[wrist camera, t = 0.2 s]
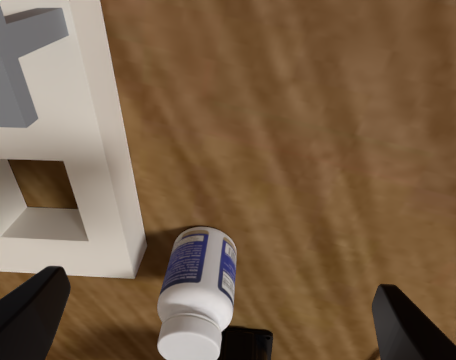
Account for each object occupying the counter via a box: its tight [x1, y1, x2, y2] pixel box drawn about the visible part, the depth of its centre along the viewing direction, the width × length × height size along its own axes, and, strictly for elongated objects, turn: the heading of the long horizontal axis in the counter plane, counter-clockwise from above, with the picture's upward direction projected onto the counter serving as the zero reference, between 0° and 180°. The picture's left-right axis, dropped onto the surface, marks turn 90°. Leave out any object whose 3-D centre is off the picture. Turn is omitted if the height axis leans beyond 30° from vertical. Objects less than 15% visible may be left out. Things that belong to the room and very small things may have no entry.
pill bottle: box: [157, 227, 237, 360], centre depth 25 cm, size 5×5×9 cm
